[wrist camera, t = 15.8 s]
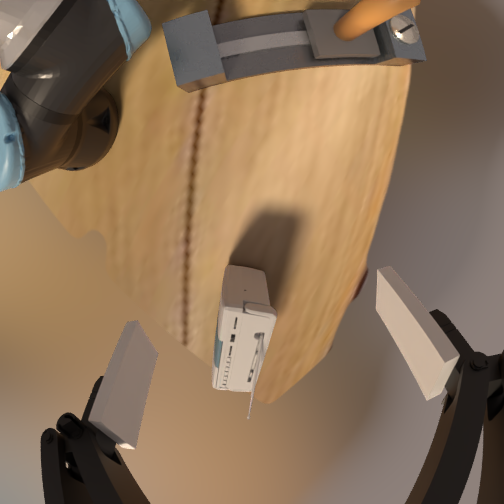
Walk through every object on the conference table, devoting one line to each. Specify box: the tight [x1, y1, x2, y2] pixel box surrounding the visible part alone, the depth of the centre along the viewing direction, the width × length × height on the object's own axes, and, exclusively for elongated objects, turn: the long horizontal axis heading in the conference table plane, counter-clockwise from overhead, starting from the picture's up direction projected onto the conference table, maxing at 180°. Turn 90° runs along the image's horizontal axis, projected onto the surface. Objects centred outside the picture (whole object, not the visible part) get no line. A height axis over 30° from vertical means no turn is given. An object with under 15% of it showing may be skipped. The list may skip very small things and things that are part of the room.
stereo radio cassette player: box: [212, 265, 277, 419], centre depth 44 cm, size 21×8×20 cm, turn 170°
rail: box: [162, 9, 427, 93], centre depth 28 cm, size 36×10×9 cm, turn 103°
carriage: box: [302, 0, 421, 59], centre depth 20 cm, size 10×8×19 cm
